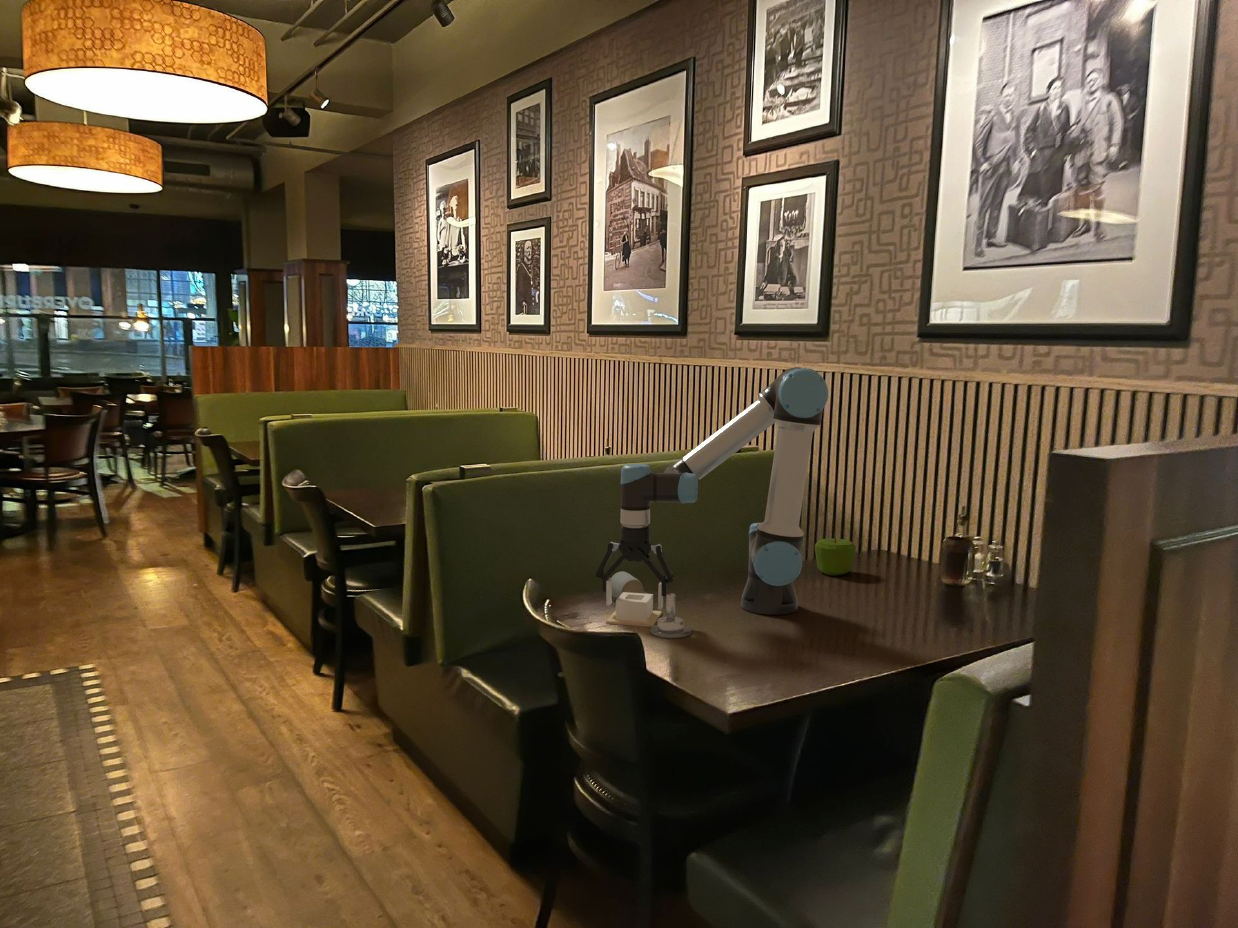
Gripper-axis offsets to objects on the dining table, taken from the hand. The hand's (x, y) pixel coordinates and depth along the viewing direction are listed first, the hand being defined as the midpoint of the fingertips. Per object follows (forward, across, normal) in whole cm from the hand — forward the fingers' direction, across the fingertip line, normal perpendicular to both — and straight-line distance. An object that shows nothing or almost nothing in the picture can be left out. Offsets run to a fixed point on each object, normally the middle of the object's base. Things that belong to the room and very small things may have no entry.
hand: (634, 606), depth 229 cm
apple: (+3, -50, -62) cm, 80 cm away
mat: (+3, 0, 0) cm, 3 cm away
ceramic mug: (+4, +5, -16) cm, 17 cm away
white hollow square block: (+3, 0, 0) cm, 3 cm away
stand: (+3, -11, +9) cm, 15 cm away
